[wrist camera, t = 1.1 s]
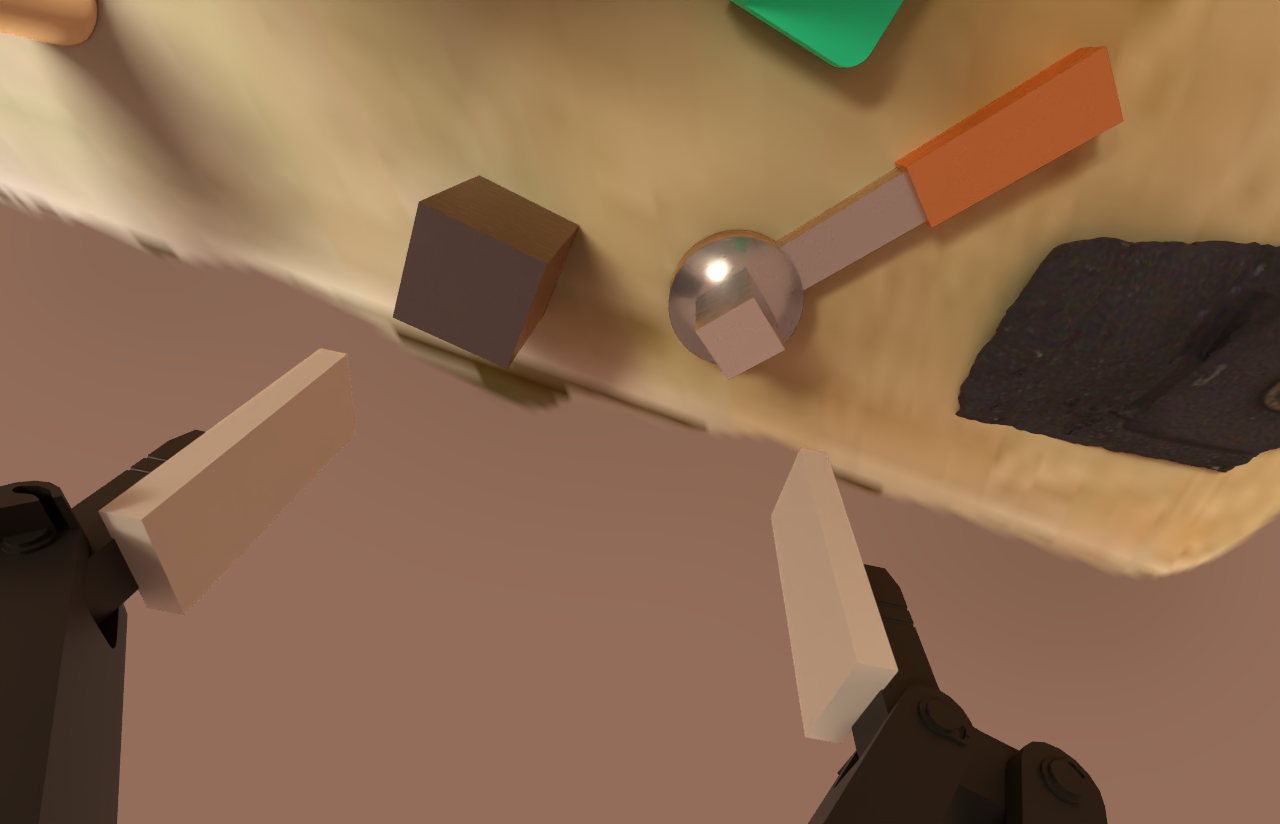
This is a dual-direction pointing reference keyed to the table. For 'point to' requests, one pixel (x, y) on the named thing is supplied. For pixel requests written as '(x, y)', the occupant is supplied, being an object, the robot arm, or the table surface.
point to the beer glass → (49, 20)
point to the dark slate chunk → (1141, 351)
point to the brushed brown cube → (482, 268)
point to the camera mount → (828, 25)
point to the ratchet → (883, 212)
